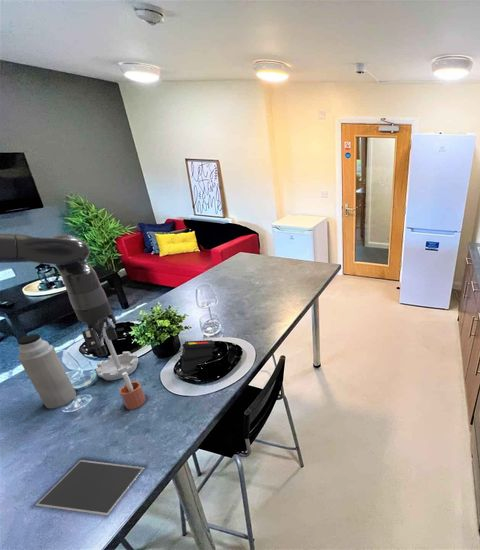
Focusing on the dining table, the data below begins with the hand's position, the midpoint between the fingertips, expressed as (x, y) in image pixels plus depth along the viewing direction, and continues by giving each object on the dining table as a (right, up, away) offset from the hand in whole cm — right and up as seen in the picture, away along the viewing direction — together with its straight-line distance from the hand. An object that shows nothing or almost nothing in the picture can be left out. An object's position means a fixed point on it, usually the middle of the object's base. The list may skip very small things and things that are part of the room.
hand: (108, 347), depth 91 cm
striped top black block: (+11, -17, +32) cm, 38 cm away
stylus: (-3, -24, +14) cm, 28 cm away
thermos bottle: (-30, -23, +14) cm, 40 cm away
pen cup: (-3, -24, +14) cm, 28 cm away
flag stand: (-20, -18, +28) cm, 39 cm away
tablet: (+6, -36, -11) cm, 38 cm away
